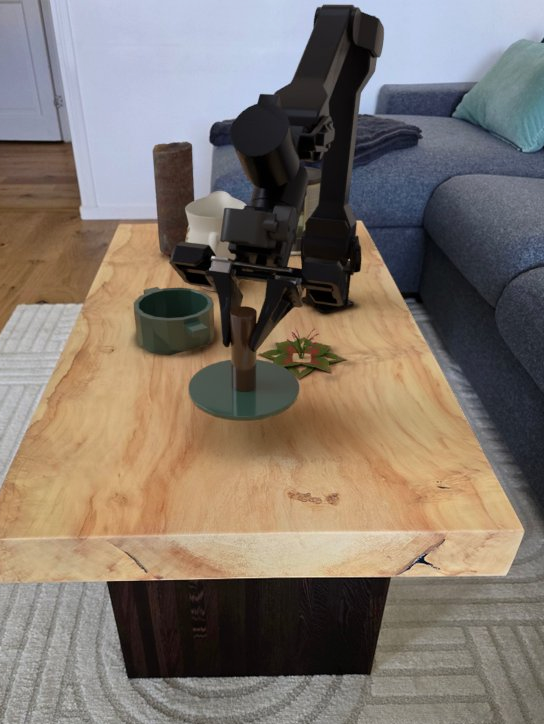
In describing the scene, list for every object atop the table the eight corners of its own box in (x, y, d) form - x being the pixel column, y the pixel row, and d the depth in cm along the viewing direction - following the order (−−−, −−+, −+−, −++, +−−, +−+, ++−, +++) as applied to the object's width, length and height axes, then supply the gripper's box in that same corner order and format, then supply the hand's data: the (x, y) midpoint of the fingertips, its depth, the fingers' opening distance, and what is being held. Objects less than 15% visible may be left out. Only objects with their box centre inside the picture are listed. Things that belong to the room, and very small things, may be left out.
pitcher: (180, 306, 105) (175, 222, 97) (193, 266, 119) (189, 190, 111) (246, 307, 104) (246, 223, 96) (251, 267, 119) (251, 191, 110)
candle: (195, 261, 122) (190, 148, 110) (157, 261, 122) (148, 148, 110) (198, 247, 128) (193, 139, 116) (162, 247, 128) (153, 139, 116)
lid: (261, 357, 79) (262, 279, 73) (321, 404, 71) (328, 320, 65) (170, 384, 74) (163, 303, 68) (222, 438, 66) (219, 351, 60)
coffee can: (276, 257, 123) (279, 180, 115) (262, 240, 131) (263, 167, 123) (327, 252, 125) (332, 177, 117) (310, 236, 133) (314, 164, 125)
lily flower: (242, 357, 91) (242, 328, 88) (304, 334, 97) (306, 306, 94) (297, 392, 83) (299, 361, 80) (361, 364, 89) (365, 335, 86)
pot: (185, 308, 104) (183, 276, 101) (237, 350, 93) (236, 315, 89) (119, 324, 100) (114, 291, 96) (164, 370, 88) (161, 334, 85)
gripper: (170, 162, 64) (129, 307, 63) (351, 177, 59) (312, 336, 57) (204, 218, 75) (170, 343, 73) (360, 236, 69) (327, 371, 68)
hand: (238, 348), depth 68 cm, fingers closed on lid, 3 cm apart
